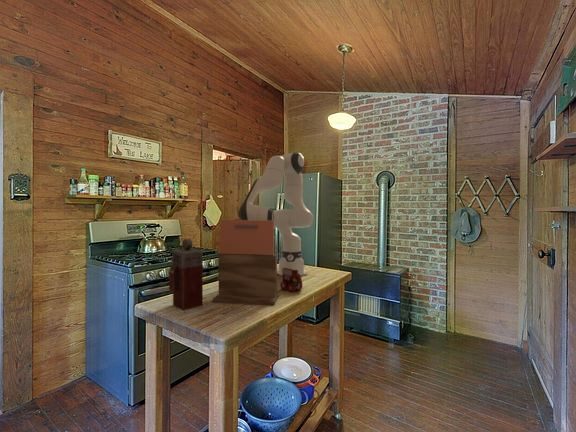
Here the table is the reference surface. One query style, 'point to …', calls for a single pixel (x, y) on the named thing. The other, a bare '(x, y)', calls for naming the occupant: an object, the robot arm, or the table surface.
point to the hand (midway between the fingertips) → (249, 236)
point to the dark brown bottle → (186, 277)
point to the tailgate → (247, 237)
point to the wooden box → (247, 279)
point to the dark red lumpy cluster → (291, 280)
